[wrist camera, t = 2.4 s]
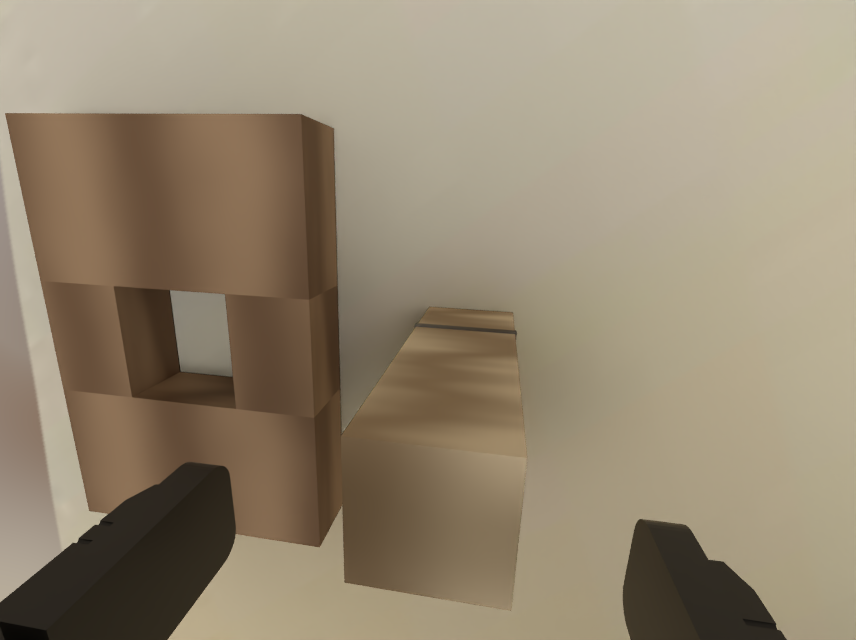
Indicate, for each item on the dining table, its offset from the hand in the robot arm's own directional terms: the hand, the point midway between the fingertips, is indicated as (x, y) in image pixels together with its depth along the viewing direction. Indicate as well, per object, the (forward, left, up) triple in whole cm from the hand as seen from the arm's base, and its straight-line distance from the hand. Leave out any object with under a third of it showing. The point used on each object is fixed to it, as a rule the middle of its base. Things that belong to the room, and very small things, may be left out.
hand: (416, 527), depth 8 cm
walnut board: (+12, 0, -11) cm, 16 cm away
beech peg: (0, 0, -11) cm, 11 cm away
